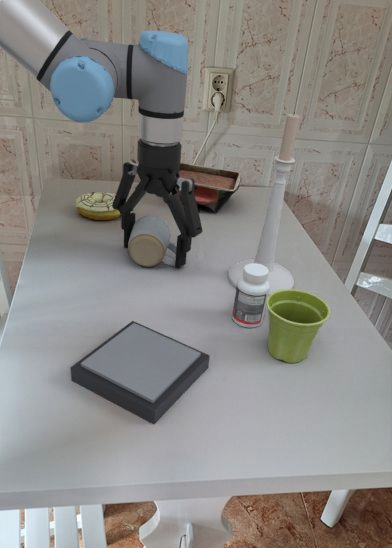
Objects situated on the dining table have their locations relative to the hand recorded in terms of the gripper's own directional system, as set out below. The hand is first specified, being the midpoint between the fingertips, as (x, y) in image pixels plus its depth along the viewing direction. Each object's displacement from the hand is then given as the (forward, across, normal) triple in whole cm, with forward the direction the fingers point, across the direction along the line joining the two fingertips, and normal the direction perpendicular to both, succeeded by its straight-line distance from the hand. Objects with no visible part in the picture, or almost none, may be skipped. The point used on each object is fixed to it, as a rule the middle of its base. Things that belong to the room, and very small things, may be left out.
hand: (154, 255), depth 96 cm
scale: (+1, -18, +29) cm, 34 cm away
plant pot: (+1, -33, +11) cm, 35 cm away
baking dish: (+1, +8, -32) cm, 33 cm away
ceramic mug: (+1, 0, 0) cm, 1 cm away
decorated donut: (+1, +22, -10) cm, 24 cm away
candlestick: (+1, -20, -7) cm, 21 cm away
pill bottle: (+1, -24, +7) cm, 25 cm away
